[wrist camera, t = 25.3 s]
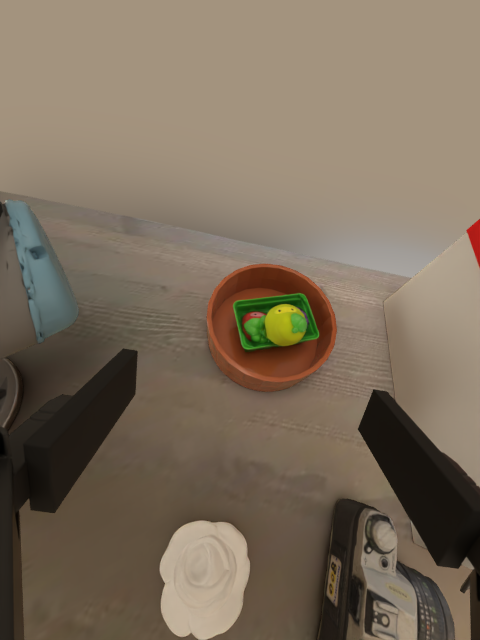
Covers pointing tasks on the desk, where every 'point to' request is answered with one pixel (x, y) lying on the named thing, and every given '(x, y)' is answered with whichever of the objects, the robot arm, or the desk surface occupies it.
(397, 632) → the camera
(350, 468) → the desk surface
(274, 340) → the fruit basket
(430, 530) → the robot arm
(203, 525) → the rose
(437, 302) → the bookstore
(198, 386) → the desk surface
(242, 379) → the pot
